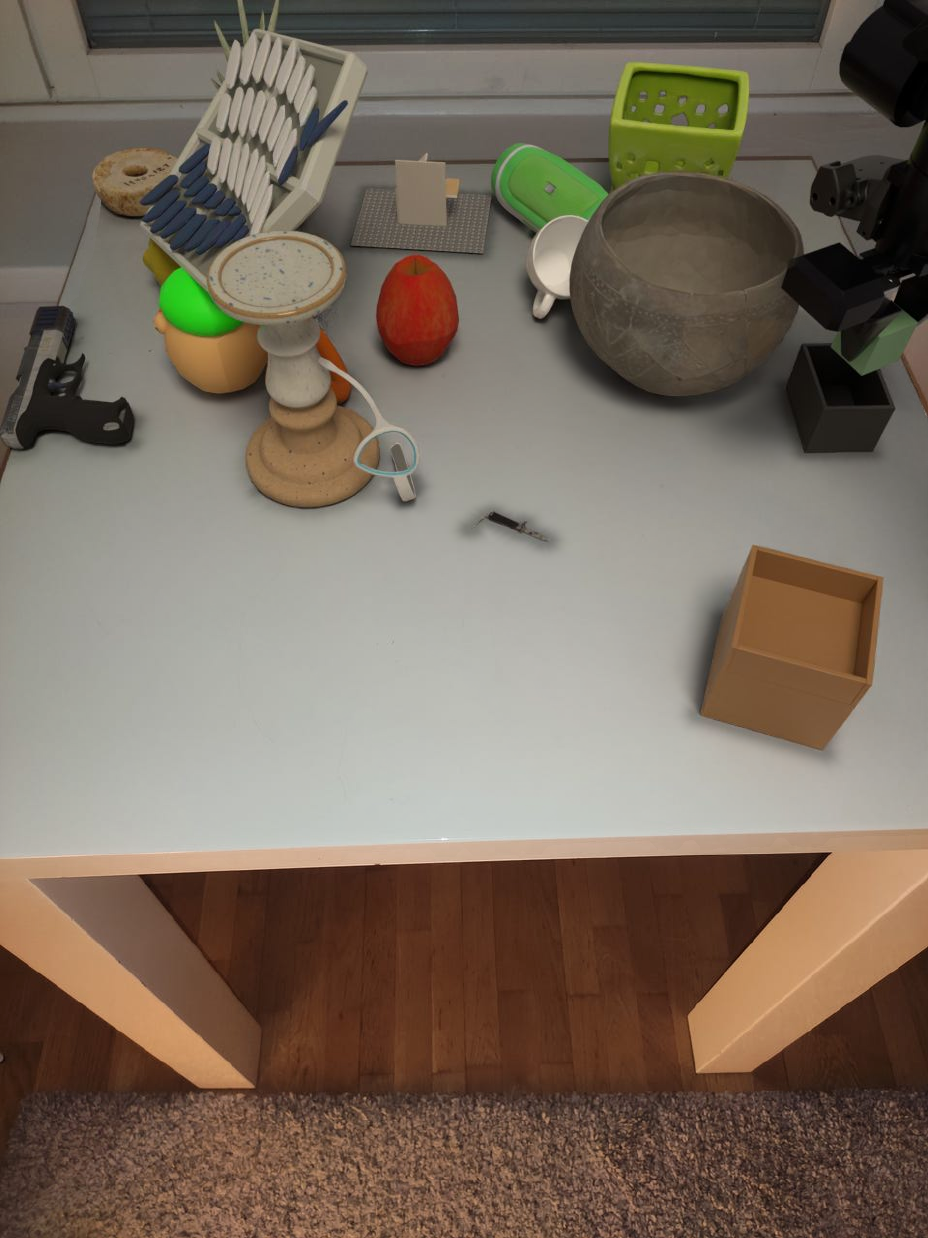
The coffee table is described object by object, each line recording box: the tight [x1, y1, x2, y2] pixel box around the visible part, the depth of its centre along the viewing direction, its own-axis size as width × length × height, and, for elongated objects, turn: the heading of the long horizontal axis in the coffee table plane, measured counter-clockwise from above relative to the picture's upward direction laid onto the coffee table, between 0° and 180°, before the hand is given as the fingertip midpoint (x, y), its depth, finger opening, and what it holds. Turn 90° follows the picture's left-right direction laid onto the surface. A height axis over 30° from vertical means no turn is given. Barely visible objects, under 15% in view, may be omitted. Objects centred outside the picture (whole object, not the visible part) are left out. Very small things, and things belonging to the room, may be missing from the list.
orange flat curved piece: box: [255, 324, 352, 403], centre depth 84 cm, size 10×2×15 cm
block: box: [831, 299, 918, 376], centre depth 72 cm, size 4×4×4 cm
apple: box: [375, 254, 460, 367], centre depth 88 cm, size 8×8×11 cm
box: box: [699, 544, 884, 751], centre depth 67 cm, size 9×9×10 cm
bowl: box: [569, 171, 805, 397], centre depth 86 cm, size 21×21×15 cm
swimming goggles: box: [318, 357, 421, 502], centre depth 78 cm, size 14×8×6 cm
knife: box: [471, 510, 550, 541], centre depth 80 cm, size 6×1×3 cm
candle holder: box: [207, 230, 381, 508], centre depth 76 cm, size 12×12×20 cm
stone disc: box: [91, 147, 178, 217], centre depth 107 cm, size 10×4×10 cm
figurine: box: [153, 267, 268, 395], centre depth 86 cm, size 11×10×12 cm
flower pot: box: [607, 61, 750, 194], centre depth 101 cm, size 14×14×13 cm
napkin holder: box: [393, 152, 461, 226], centre depth 103 cm, size 3×7×7 cm, turn 84°
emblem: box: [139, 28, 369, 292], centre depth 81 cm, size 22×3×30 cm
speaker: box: [490, 142, 610, 234], centre depth 101 cm, size 18×7×8 cm
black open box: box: [784, 342, 897, 454], centre depth 85 cm, size 9×6×6 cm
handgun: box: [0, 305, 135, 450], centre depth 90 cm, size 3×19×12 cm
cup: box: [525, 215, 588, 320], centre depth 95 cm, size 8×10×7 cm
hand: (866, 349), depth 73 cm, fingers closed on block, 4 cm apart
